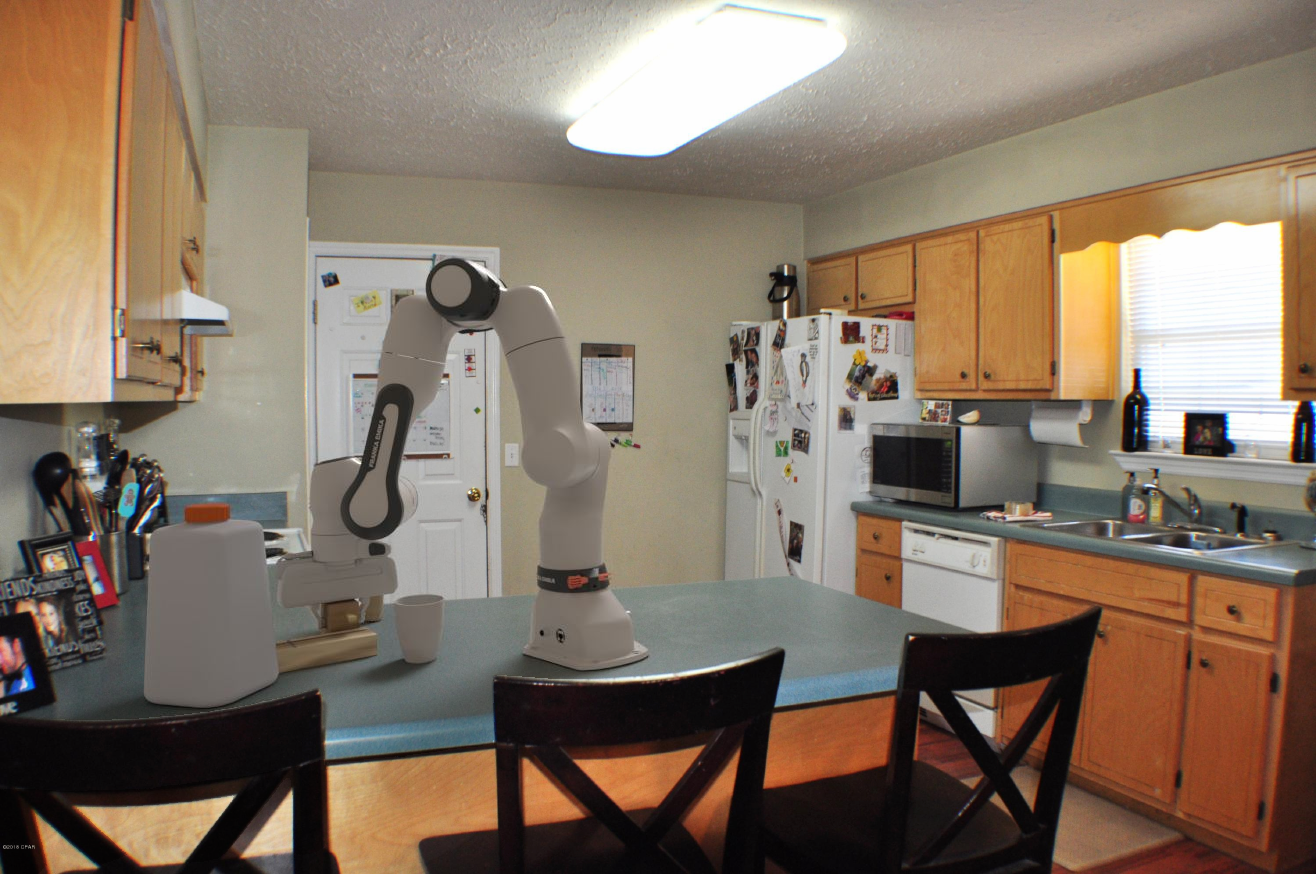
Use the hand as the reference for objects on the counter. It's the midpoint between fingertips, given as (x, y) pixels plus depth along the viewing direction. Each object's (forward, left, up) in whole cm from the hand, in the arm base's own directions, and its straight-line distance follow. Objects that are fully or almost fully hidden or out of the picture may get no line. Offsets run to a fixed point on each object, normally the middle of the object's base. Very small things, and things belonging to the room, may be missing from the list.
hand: (340, 625), depth 152 cm
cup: (-18, -8, -4) cm, 20 cm away
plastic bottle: (-14, +22, -4) cm, 26 cm away
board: (-8, +5, -3) cm, 10 cm away
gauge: (-3, 0, -3) cm, 4 cm away
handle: (+13, -10, -4) cm, 17 cm away
